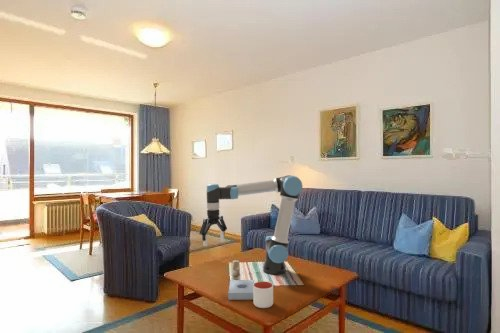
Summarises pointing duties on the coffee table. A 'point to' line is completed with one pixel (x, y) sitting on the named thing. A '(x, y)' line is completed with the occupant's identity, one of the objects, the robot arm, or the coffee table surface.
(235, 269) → the peg
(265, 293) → the cup
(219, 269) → the coffee table surface
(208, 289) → the coffee table surface
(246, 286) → the board
